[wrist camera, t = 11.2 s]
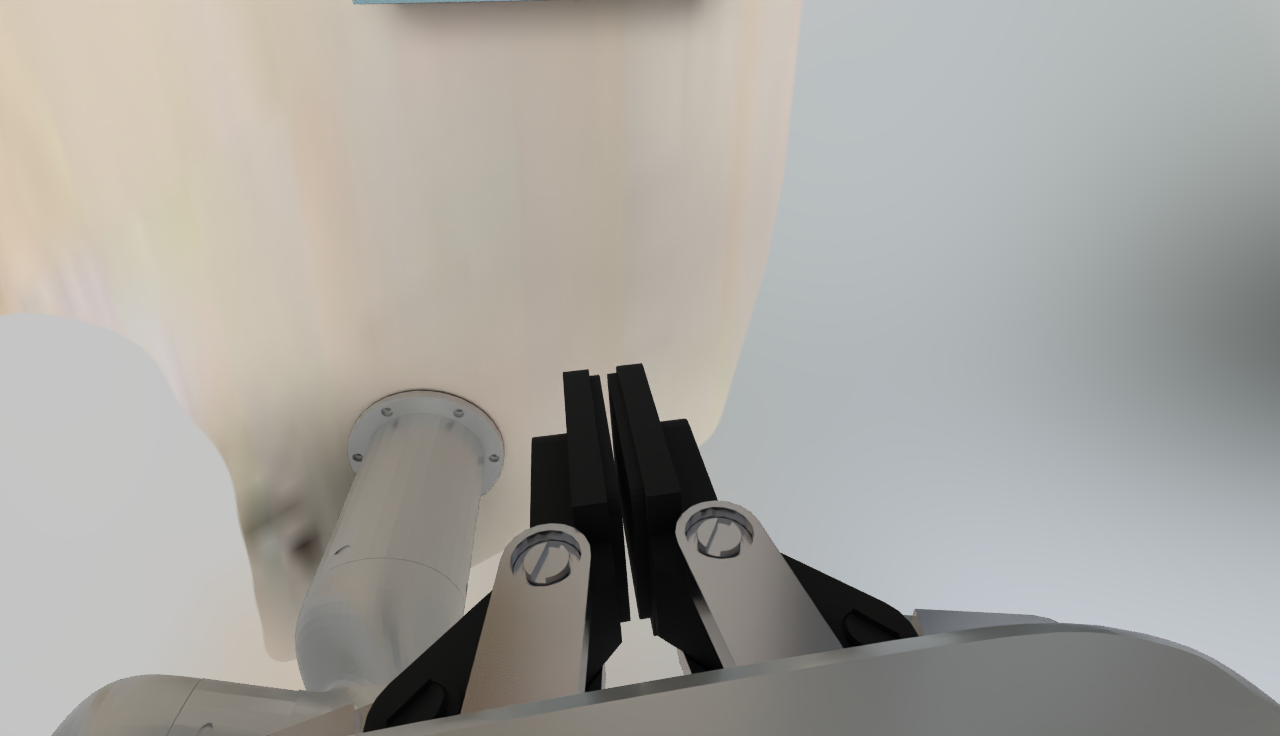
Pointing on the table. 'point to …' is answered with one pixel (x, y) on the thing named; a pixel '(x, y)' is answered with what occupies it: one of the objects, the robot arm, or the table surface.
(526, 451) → the table surface
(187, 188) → the table surface
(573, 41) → the table surface
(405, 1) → the lid
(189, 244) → the table surface
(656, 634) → the robot arm
